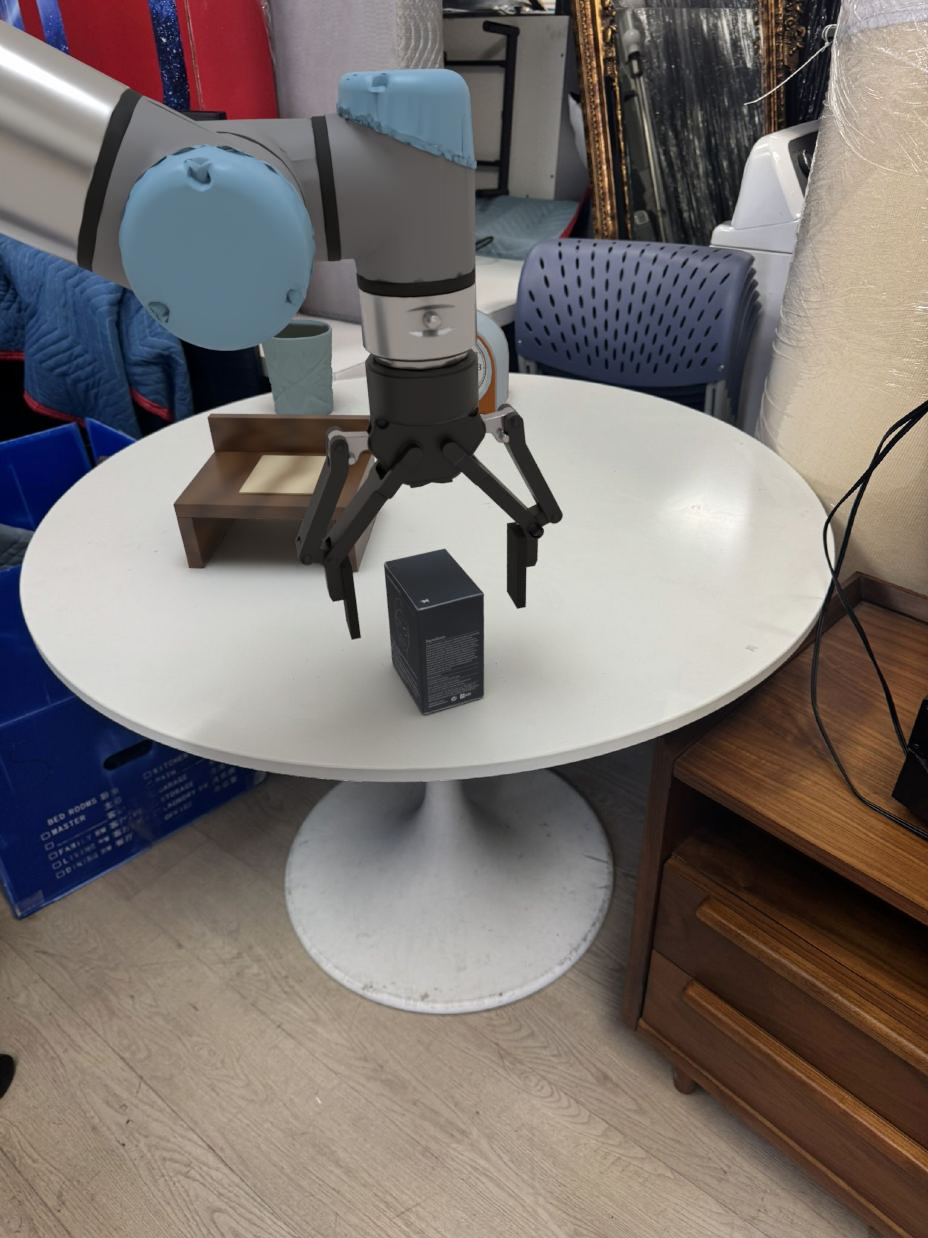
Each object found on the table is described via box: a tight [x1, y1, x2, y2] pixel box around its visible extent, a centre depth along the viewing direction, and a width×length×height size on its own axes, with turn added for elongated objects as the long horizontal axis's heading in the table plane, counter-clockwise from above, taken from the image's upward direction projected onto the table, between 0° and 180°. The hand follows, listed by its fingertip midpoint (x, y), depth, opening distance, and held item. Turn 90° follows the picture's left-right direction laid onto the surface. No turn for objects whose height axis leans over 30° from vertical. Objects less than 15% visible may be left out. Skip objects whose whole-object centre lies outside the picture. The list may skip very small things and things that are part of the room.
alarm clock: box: [471, 309, 510, 415], centre depth 120 cm, size 15×8×14 cm, turn 74°
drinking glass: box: [260, 318, 334, 415], centre depth 119 cm, size 10×10×12 cm
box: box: [383, 548, 485, 715], centre depth 67 cm, size 8×6×11 cm
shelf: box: [173, 413, 378, 573], centre depth 88 cm, size 18×14×12 cm
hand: (436, 614), depth 66 cm, fingers open, 13 cm apart
